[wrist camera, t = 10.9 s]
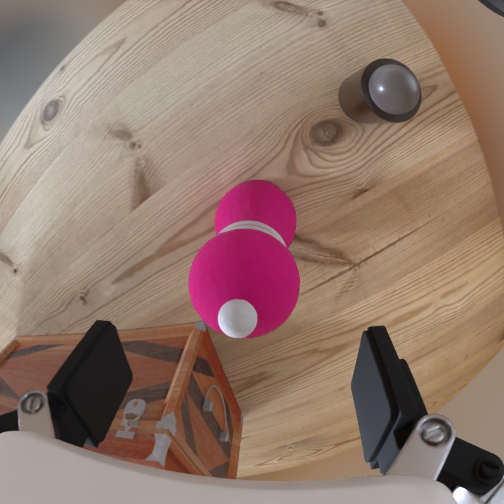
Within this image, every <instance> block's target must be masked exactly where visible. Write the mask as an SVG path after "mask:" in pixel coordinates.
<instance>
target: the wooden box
mask: <svg viewBox="0 0 504 504" xmlns="http://www.w3.org/2000/svg"><path fill="white" fill-rule="evenodd" d="M117 332H118V335H119V338H120V341H121V344H122V347H123V349H124V352H125V355H126V357H127V360H128V363H129V365H130V368H131V370H132V373H133V380H132V383H131V385H130V387H129V389H128V391H127V393H126V395H125V397H124V399H123V401H122V403H121V405H120V407H119V409H118V411H117V413H116V416H115V418H114V420H113V422H112V424H111V426H110V428H109V430H108V432H107V435H106V437H105V439H104V441H103V442H101V443H99V445H98V448H94V447H91V446H88V445H86V444H84V446H83V449H87V450H90V451H93V452H96V453H99V454H102V455H106V456H109V457H112V458H116V459H120V460H123V461H127V462H131V463H135V464H139V465H144V466H148V467H153V468H158V469H163V470H168V471H173V472H179V473H185V474H192V475H199V476H207V477H215V478H225V479H236V476H237V468H238V459H239V451H240V442H241V433H242V424H243V415H242V413H241V411H240V408H239V406H238V404H237V402H236V399H235V397H234V395H233V392H232V390H231V388H230V385H229V383H228V380H227V378H226V376H225V373H224V371H223V368H222V366H221V364H220V361H219V359H218V356H217V354H216V351H215V349H214V346H213V344H212V341H211V338H210V336H209V333H208V331H207V328H206V326H205V323H204V321H200V322H193V323H185V324H177V325H168V326H159V327H150V328H140V329H129V330H118V331H117ZM85 334H86V333H79V334H61V335H40V336H16V337H15V338H14V339H13V340H12V341H11V342H10V343H9V344H8V345H7V346H6V347H5V348H4V349H3V350H2V351H1V352H0V415H2V414H5V413H8V412H11V411H14V410H16V409H17V406H18V401H19V399H20V398H21V396H22V395H23V394H25V393H26V392H28V391H30V390H34V389H38V390H42V391H44V392H45V393H47V392H48V390H47V388H46V387H47V385H48V384H49V382H50V381H51V380H52V378H53V377H54V375H55V374H56V373H57V371H58V370H59V368H60V367H61V366H62V364H63V363H64V362H65V360H66V359H67V358H68V356H69V355H70V354H71V352H72V351H73V350H74V348H75V347H76V346H77V344H78V343H79V342H80V340H81V339H82V338H83V337H84V335H85Z"/></svg>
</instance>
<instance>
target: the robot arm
mask: <svg viewBox="0 0 504 504" xmlns="http://www.w3.org/2000/svg"><path fill="white" fill-rule="evenodd" d="M132 380H133V373H132V370H131V368H130V365H129V363H128V360H127V357H126V355H125V352H124V349H123V347H122V344H121V341H120V338H119V335H118V332H117V329H116V327H115V326H114V325H113V324H112V323H111V322H110V321H103V320H97V321H95V323H94V324H93V325H92V326H91V328H90V329H89V330H88V331H87V333H86V334H85V335H84V337H83V338H82V339H81V340H80V342H79V343H78V344H77V346H76V347H75V348H74V350H73V351H72V352H71V354H70V355H69V356H68V358H67V359H66V360H65V362H64V363H63V364H62V366H61V367H60V368H59V370H58V371H57V373H56V374H55V375H54V377H53V378H52V380H51V381H50V382H49V384H48V385H47V387H46V388H47V390H48V392H47V393H45V392H44V391H42V390H38V389H34V390H30V391H28V392H26V393H25V394H23V395H22V396H21V398H20V399H19V401H18V406H17V409H16V410H14V411H11V412H8V413H5V414H2V415H0V504H504V465H503V462H502V460H501V459H500V458H499V457H498V456H496V455H495V454H493V453H490V452H488V451H486V450H484V449H481V448H479V447H477V446H475V445H472V444H470V443H468V442H466V441H464V440H462V439H459V438H457V437H455V435H456V431H455V426H454V425H453V423H452V422H451V421H450V420H449V419H448V418H446V417H445V416H443V415H439V414H429V415H428V413H427V410H426V408H425V405H424V403H423V400H422V398H421V395H420V393H419V390H418V388H417V385H416V383H415V380H414V378H413V376H412V373H411V371H410V368H409V366H408V364H407V362H406V360H404V359H399V358H398V355H397V353H396V351H395V348H394V346H393V344H392V341H391V339H390V337H389V335H388V332H387V330H386V328H385V326H371V327H368V330H367V331H363V333H362V338H361V343H360V348H359V352H358V357H357V361H356V365H355V370H354V374H353V378H352V382H351V389H352V395H353V399H354V404H355V409H356V414H357V419H358V424H359V430H360V435H361V441H362V446H363V452H364V458H365V461H366V462H370V465H371V469H376V468H380V473H381V474H383V475H382V476H367V477H356V478H345V479H332V480H316V481H315V480H313V481H254V480H237V479H225V478H215V477H207V476H199V475H192V474H185V473H179V472H173V471H168V470H163V469H158V468H153V467H148V466H144V465H139V464H135V463H131V462H127V461H123V460H120V459H116V458H112V457H109V456H106V455H102V454H99V453H96V452H93V451H90V450H87V449H83V446H84V444H86V445H88V446H91V447H94V448H98V445H99V443H101V442H103V441H104V439H105V437H106V435H107V432H108V430H109V428H110V426H111V424H112V422H113V420H114V418H115V416H116V413H117V411H118V409H119V407H120V405H121V403H122V401H123V399H124V397H125V395H126V393H127V391H128V389H129V387H130V385H131V383H132Z"/></svg>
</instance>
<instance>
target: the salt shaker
mask: <svg viewBox="0 0 504 504" xmlns="http://www.w3.org/2000/svg"><path fill="white" fill-rule="evenodd" d="M421 95H422V94H421V88H420V85H419V82H418V80H417V78H416V76H415V75H414V73H413V72H412V71H411V70H410V69H409V68H408V67H407V66H406V65H404V64H403V63H401V62H399V61H396V60H393V59H378V60H375V61H373V62H372V63H370V64H368V65H367V66H365V67H364V68H362V69H361V70H359V71H358V72H356V73H355V74H353V75H352V76H350V77H349V78H347V79H346V80H345V81H344V82H343V83H342V85H341V87H340V90H339V102H340V105H341V108H342V110H343V111H344V112H345V114H346V115H347V116H348V117H349V118H351V119H352V120H354V121H356V122H359V123H365V124H368V123H398V122H404V121H407V120H409V119H410V118H412V117H413V116H414V115H415V114H416V113H417V111H418V109H419V107H420V104H421Z"/></svg>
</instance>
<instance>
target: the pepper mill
mask: <svg viewBox="0 0 504 504" xmlns="http://www.w3.org/2000/svg"><path fill="white" fill-rule="evenodd" d="M215 230H216V234H217V236H215V237H214V238H212V239H211V240H209V241H208V242H206V243H205V245H204V246H203V247H202V248H201V249H200V250H199V252H198V254H197V255H196V257H195V259H194V261H193V263H192V267H191V270H190V275H189V292H190V297H191V301H192V303H193V306H194V308H195V310H196V311H197V313H198V314H199V316H200V317H201V318H202V319H203V320H204V322H205V323H206V324H207V325H209V326H210V327H211V328H213V329H214V330H215V331H217V332H220V333H222V334H224V335H227V336H230V337H234V338H253V337H259V336H262V335H265V334H267V333H269V332H271V331H273V330H275V329H277V328H278V327H279V326H280V325H282V324H283V323H284V322H285V321H286V319H287V318H288V317H289V315H290V314H291V312H292V311H293V309H294V307H295V305H296V302H297V300H298V294H299V286H300V278H299V271H298V268H297V265H296V263H295V260H294V258H293V256H292V254H291V252H290V251H289V250H288V249H287V248H288V247H289V246H290V244H291V243H292V240H293V238H294V236H295V231H296V213H295V209H294V206H293V204H292V202H291V201H290V199H289V198H288V196H287V195H286V194H285V193H284V192H283V191H282V190H280V189H279V188H278V187H277V186H276V185H274V184H272V183H270V182H267V181H264V180H252V181H248V182H245V183H243V184H240V185H238V186H236V187H234V188H232V189H231V190H230V191H229V192H227V193H226V195H225V196H224V197H223V198H222V200H221V202H220V203H219V206H218V208H217V211H216V215H215Z"/></svg>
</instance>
